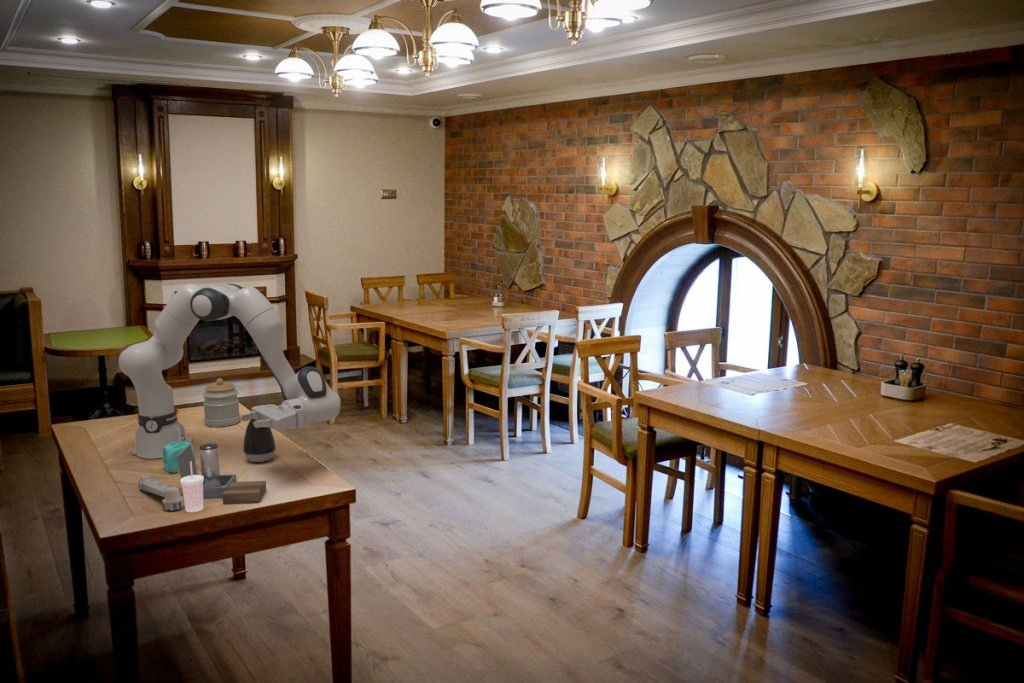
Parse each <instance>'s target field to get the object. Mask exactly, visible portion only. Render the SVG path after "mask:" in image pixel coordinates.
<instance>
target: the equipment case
mask: <svg viewBox="0 0 1024 683" xmlns="http://www.w3.org/2000/svg"><path fill="white" fill-rule="evenodd" d="M176 457H177V461H178V466H179V471H178V473H177V474H179V476H180V477H181V478H180V479H182V478H183V477H186V476H190V475H191V469H190V461H192V472H193V475H199V474H198V470H197V466H196V460H195V461H194V456H193V452H192V448H191V444H189V445H188V446H187V447H186V448H185V449H183V450H182V451H181V452H180V453H179V454H178V455H177V456H176ZM231 482H238V479H237V474H236V473H235V474H220V484H221V487H208V488H203V499H221V498H222V494H223V492H224V491H225V490H226V488H227V487H228V486H229V484H230V483H231ZM222 499H223V498H222Z"/></svg>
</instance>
